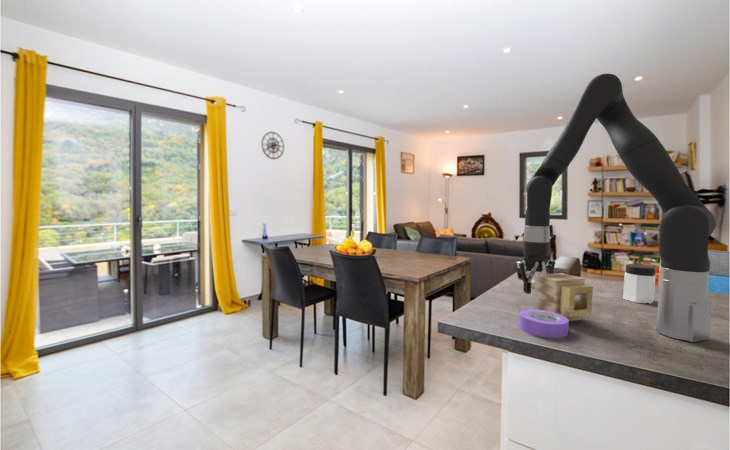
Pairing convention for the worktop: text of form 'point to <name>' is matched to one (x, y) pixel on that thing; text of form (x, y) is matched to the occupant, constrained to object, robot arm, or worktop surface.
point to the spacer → (568, 300)
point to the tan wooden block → (553, 292)
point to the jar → (639, 283)
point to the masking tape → (544, 323)
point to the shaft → (577, 298)
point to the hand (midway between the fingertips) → (534, 292)
